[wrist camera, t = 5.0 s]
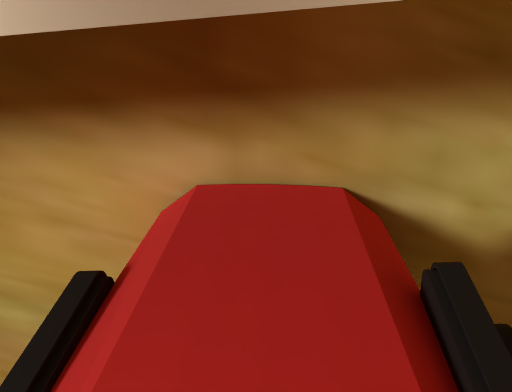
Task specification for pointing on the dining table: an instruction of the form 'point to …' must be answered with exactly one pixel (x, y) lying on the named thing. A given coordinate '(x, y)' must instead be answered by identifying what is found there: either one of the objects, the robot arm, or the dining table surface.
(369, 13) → the dining table surface
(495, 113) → the dining table surface
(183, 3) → the marble stand
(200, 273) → the french fries
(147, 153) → the dining table surface
